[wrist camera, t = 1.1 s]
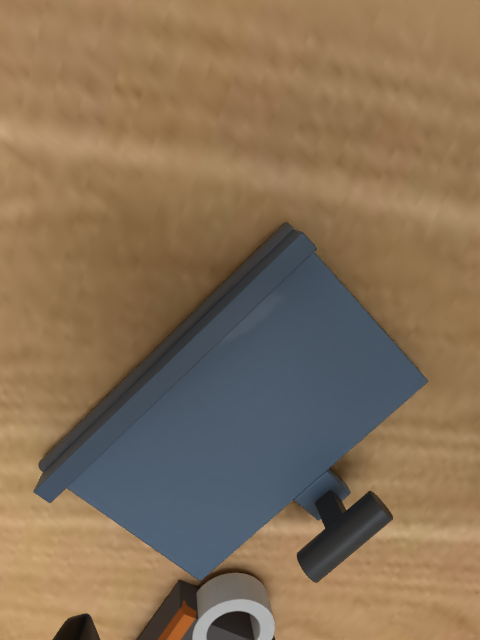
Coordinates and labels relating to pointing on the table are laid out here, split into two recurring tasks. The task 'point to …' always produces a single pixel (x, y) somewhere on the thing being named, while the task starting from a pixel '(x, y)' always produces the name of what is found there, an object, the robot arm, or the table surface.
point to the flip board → (243, 418)
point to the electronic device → (214, 611)
